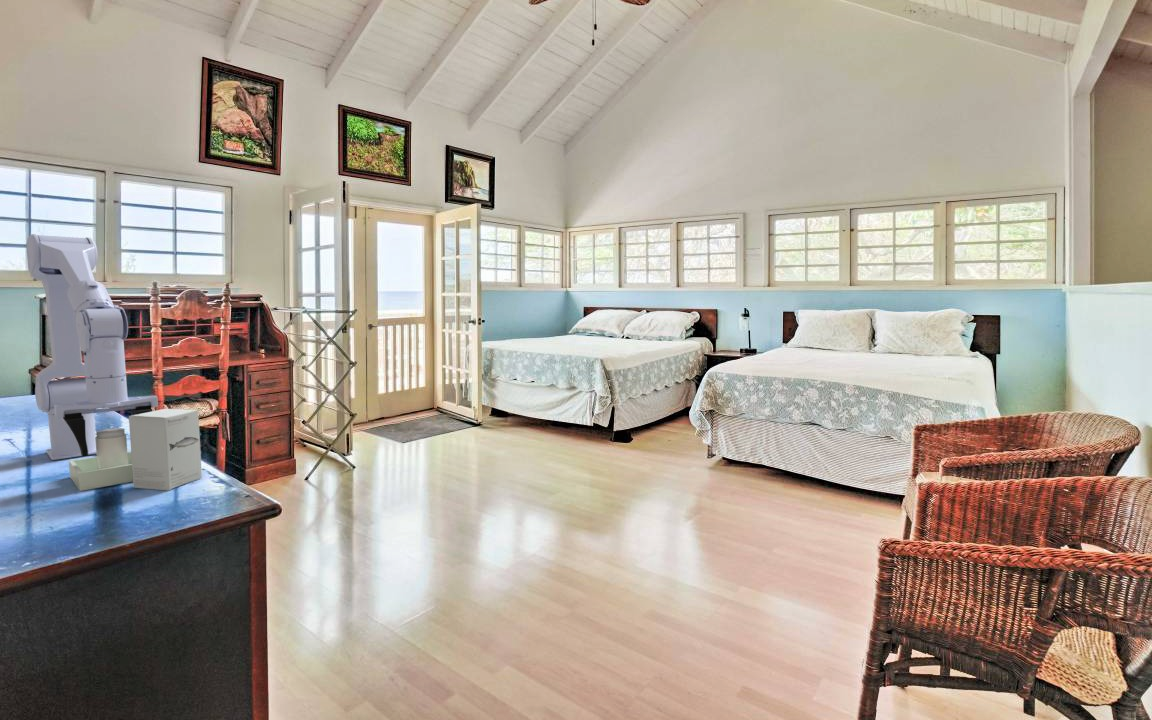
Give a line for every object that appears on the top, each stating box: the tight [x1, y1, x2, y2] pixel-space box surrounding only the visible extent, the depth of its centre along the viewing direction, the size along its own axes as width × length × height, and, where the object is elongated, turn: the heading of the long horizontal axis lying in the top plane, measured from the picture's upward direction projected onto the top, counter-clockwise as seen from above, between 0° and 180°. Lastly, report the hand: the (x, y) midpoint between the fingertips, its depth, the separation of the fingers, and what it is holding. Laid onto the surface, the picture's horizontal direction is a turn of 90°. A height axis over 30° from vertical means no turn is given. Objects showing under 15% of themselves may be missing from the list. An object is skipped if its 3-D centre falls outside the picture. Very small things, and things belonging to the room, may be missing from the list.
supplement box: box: [128, 408, 203, 491], centre depth 106 cm, size 7×7×13 cm
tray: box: [68, 451, 133, 492], centre depth 110 cm, size 11×11×3 cm
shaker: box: [95, 427, 128, 469], centre depth 109 cm, size 4×4×8 cm
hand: (111, 451), depth 109 cm, fingers open, 7 cm apart
